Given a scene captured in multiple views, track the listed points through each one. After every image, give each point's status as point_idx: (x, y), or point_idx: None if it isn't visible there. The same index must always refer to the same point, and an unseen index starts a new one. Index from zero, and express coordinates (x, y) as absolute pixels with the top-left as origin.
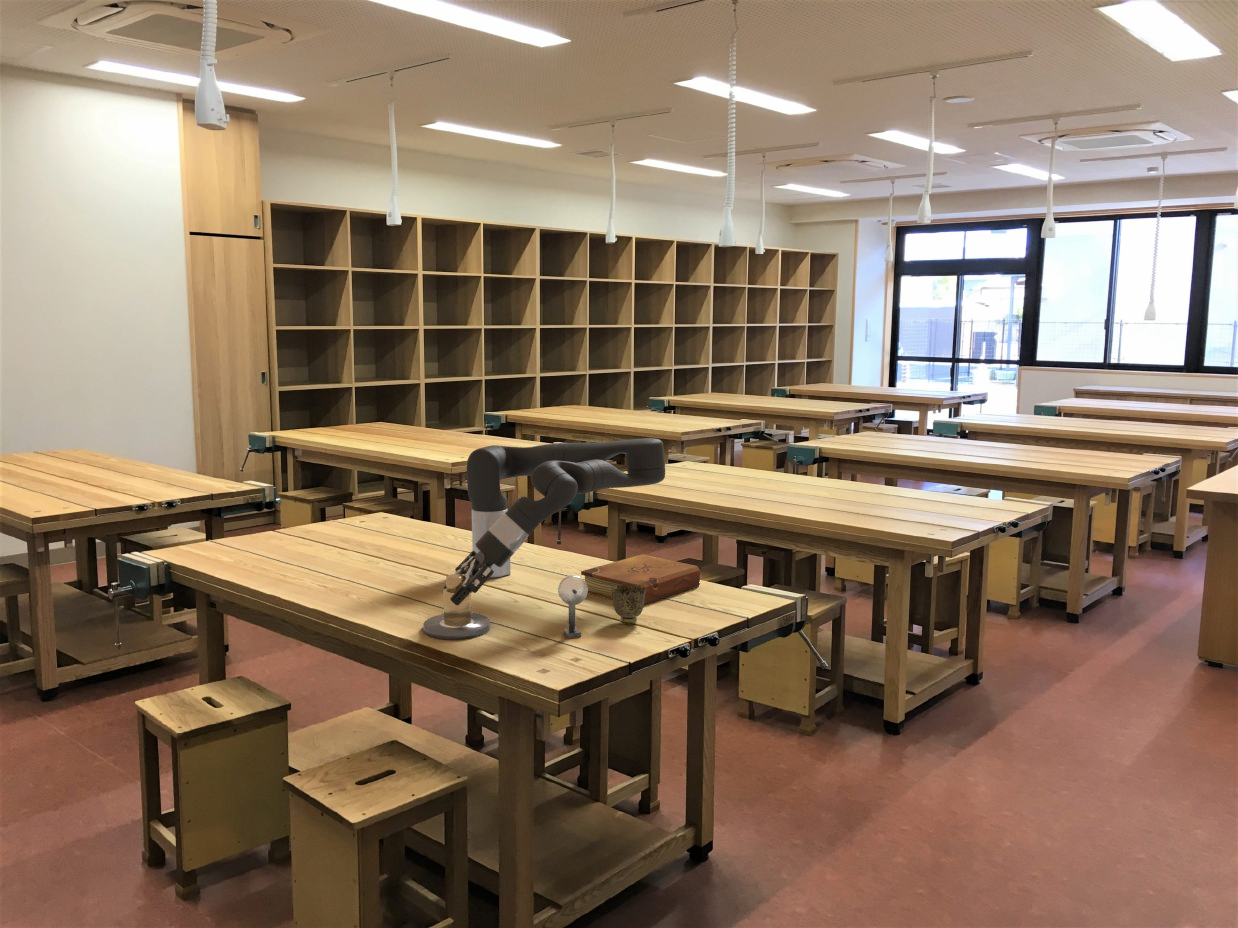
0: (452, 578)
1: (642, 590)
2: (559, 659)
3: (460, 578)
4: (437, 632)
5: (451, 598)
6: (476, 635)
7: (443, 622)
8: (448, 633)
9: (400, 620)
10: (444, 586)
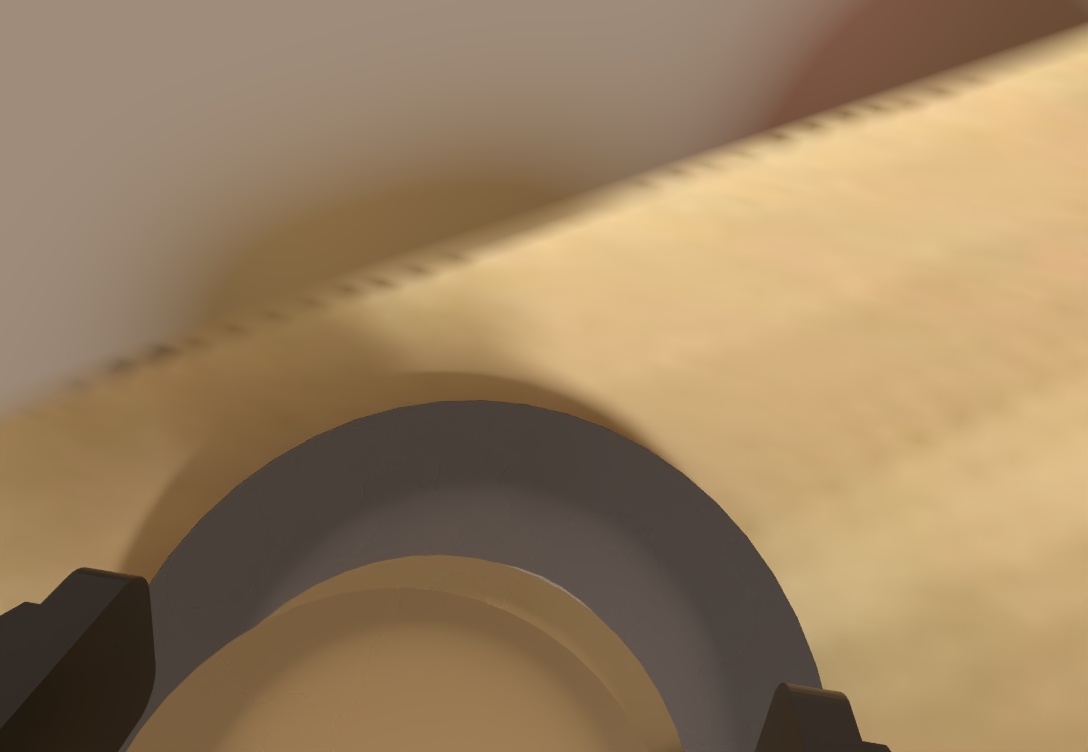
0: (241, 707)
1: None
2: None
3: None
4: (271, 463)
5: (73, 577)
6: None
7: None
8: (177, 550)
9: (948, 347)
10: (844, 707)
